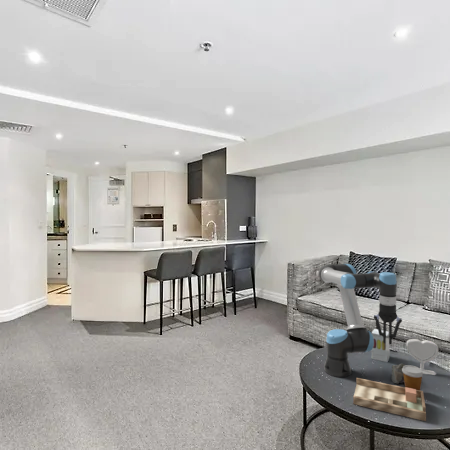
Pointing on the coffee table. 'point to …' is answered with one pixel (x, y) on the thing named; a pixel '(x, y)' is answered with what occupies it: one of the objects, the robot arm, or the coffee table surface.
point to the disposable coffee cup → (412, 376)
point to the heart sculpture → (422, 352)
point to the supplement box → (380, 347)
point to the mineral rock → (397, 374)
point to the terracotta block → (410, 394)
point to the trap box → (388, 399)
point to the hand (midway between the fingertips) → (387, 349)
